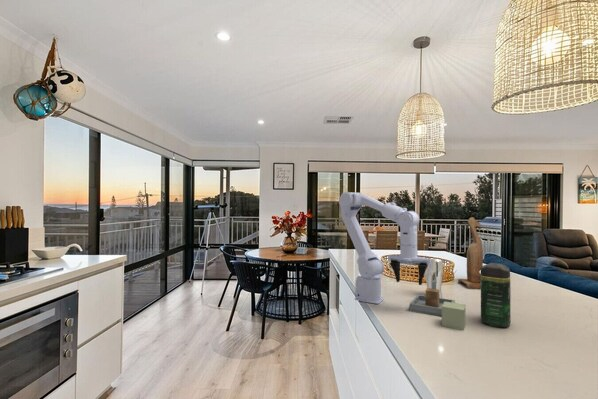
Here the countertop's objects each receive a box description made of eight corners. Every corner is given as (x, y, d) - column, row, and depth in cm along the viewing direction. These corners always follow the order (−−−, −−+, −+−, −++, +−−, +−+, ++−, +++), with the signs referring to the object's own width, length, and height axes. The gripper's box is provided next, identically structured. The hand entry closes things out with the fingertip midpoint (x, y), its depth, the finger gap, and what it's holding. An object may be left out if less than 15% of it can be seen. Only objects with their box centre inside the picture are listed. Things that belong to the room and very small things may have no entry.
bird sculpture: (494, 290, 134) (495, 218, 135) (467, 289, 135) (468, 217, 135) (481, 284, 145) (481, 217, 146) (455, 283, 146) (456, 216, 147)
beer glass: (445, 299, 119) (445, 261, 119) (426, 298, 121) (426, 261, 121) (441, 294, 126) (440, 258, 126) (423, 293, 127) (422, 258, 128)
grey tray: (409, 310, 107) (409, 303, 107) (417, 301, 118) (417, 294, 118) (450, 318, 100) (450, 310, 100) (454, 307, 111) (454, 300, 111)
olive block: (442, 326, 93) (441, 306, 94) (444, 319, 98) (444, 301, 99) (464, 330, 90) (463, 310, 90) (465, 323, 95) (465, 304, 95)
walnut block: (425, 307, 108) (425, 290, 108) (427, 304, 111) (427, 287, 111) (437, 309, 106) (437, 292, 106) (439, 306, 109) (439, 289, 109)
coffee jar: (509, 330, 90) (508, 267, 90) (478, 324, 95) (477, 264, 95) (512, 321, 97) (511, 263, 98) (483, 315, 102) (483, 260, 103)
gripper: (385, 244, 109) (385, 282, 109) (428, 247, 102) (428, 288, 101) (390, 242, 115) (391, 278, 115) (431, 245, 107) (432, 283, 107)
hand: (409, 282), depth 109 cm, fingers open, 7 cm apart
